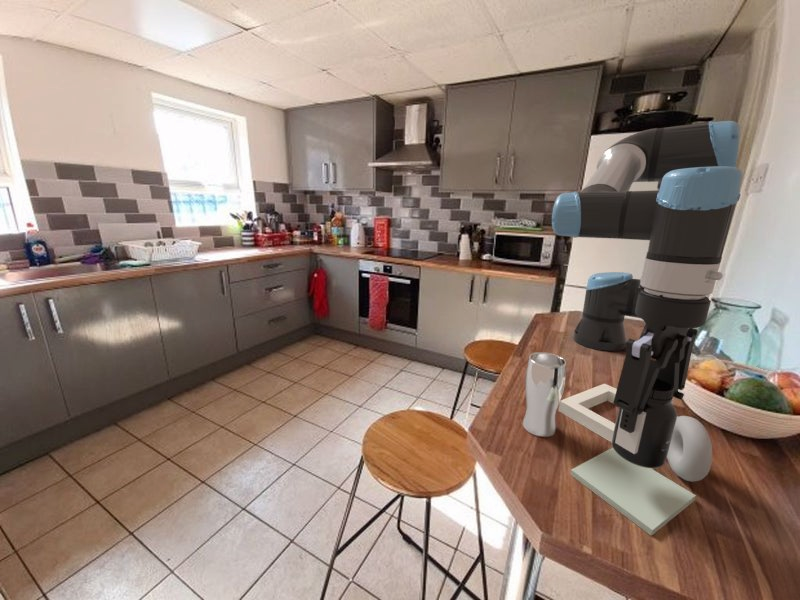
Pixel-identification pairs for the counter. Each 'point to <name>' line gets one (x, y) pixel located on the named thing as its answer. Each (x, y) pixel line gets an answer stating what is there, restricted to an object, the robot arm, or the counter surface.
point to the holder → (580, 412)
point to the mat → (633, 490)
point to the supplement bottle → (652, 428)
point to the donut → (690, 449)
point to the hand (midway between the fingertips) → (640, 439)
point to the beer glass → (543, 392)
